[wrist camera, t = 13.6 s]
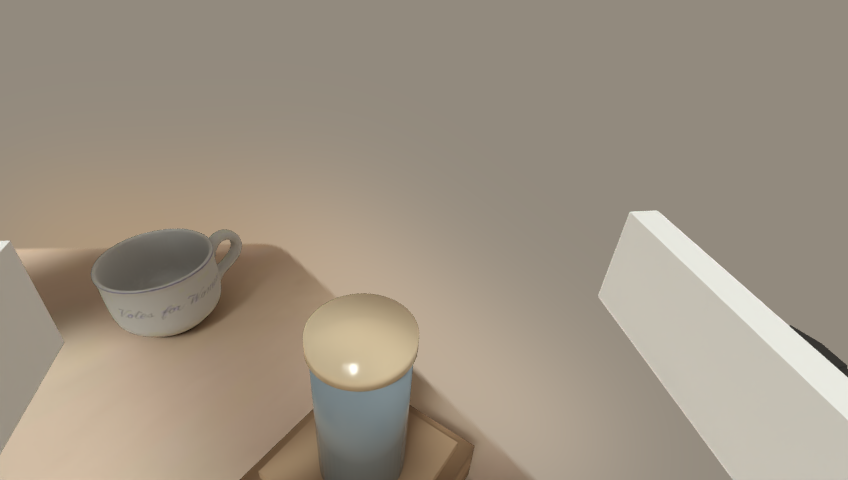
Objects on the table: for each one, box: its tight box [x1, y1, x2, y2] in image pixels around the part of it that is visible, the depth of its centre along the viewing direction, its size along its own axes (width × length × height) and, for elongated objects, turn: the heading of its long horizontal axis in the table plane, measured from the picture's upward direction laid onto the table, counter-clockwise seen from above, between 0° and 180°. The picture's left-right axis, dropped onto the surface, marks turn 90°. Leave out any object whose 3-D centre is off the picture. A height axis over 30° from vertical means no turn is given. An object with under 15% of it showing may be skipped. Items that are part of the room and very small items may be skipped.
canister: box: [303, 293, 419, 480], centre depth 29 cm, size 6×6×13 cm
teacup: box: [91, 229, 242, 337], centre depth 48 cm, size 14×11×8 cm
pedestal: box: [240, 405, 474, 480], centre depth 34 cm, size 12×12×5 cm
